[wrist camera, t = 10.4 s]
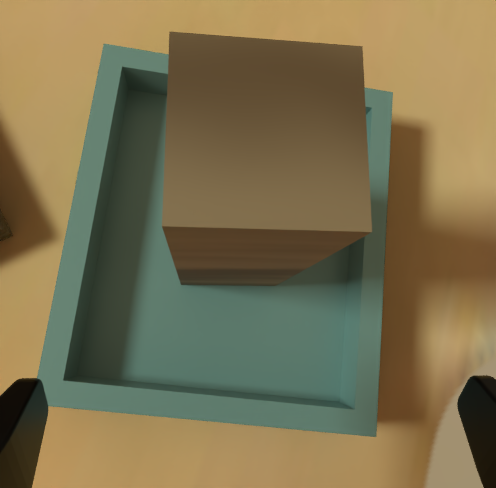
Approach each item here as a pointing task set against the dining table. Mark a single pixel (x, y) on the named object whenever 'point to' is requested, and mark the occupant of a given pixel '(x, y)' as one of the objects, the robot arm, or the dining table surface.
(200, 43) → the plate
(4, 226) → the grey square bin
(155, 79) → the tray
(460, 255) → the dining table surface
